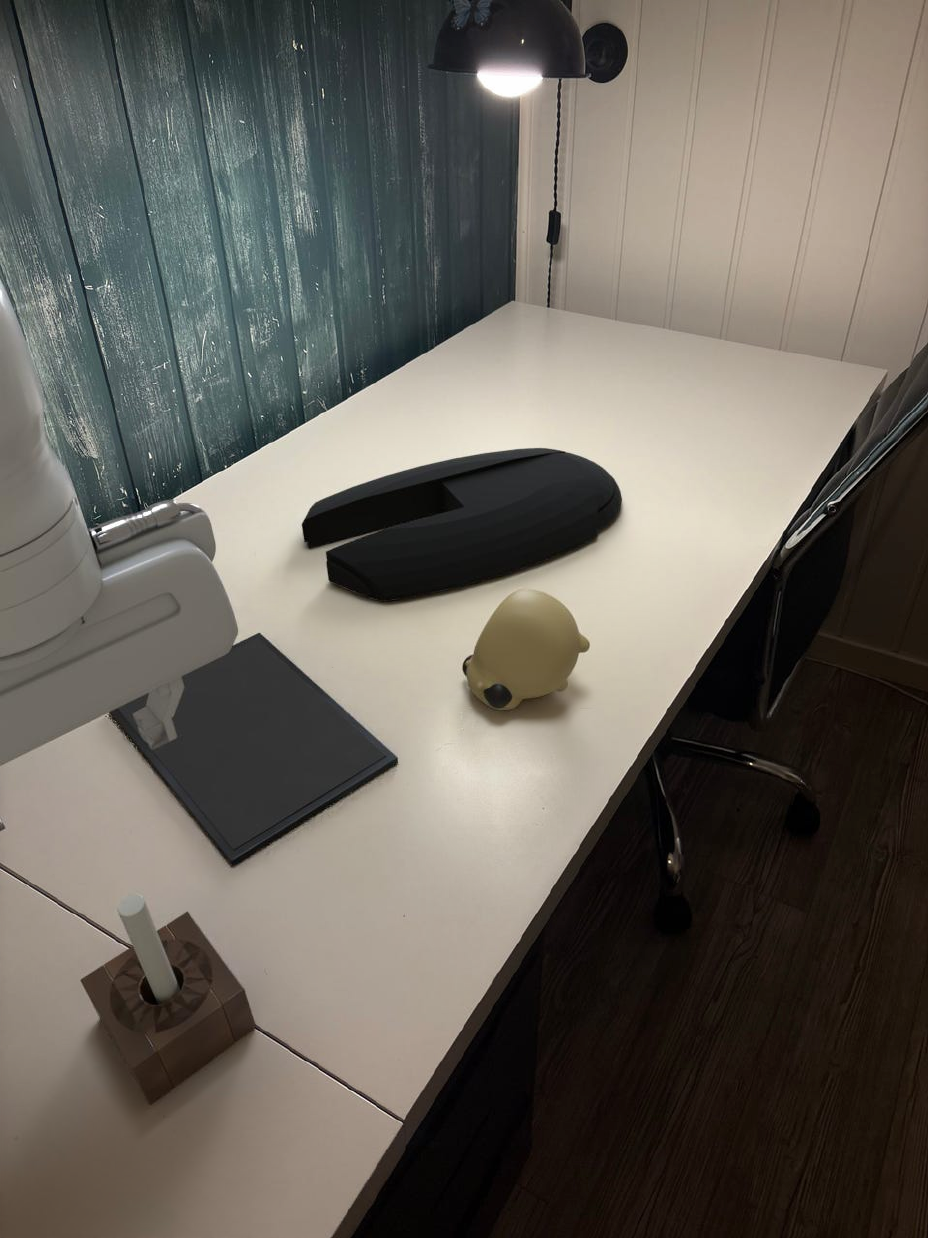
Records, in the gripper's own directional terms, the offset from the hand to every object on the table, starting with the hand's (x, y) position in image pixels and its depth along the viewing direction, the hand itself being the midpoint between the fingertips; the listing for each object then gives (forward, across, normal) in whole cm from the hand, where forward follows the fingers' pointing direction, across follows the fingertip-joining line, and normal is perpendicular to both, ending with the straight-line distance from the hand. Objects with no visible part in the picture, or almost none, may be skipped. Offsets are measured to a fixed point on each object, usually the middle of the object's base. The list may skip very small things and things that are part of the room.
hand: (77, 781), depth 49 cm
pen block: (+25, 0, 0) cm, 25 cm away
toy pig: (+25, -42, -9) cm, 50 cm away
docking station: (+25, -58, -35) cm, 72 cm away
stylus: (+25, 0, 0) cm, 25 cm away
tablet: (+25, -18, -21) cm, 37 cm away
